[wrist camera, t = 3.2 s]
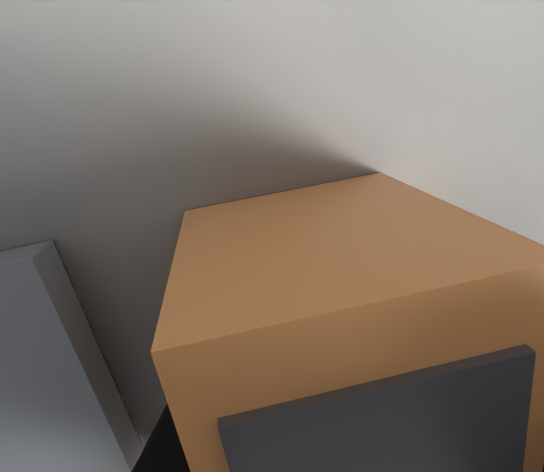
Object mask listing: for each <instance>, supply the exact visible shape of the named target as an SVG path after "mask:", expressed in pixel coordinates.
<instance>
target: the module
mask: <svg viewBox="0 0 544 472" xmlns="http://www.w3.org/2000/svg"><path fill="white" fill-rule="evenodd" d="M150 353H151V356H152V359H153V362H154V365H155V368H156V371H157V373H158V376H159V379H160V382H161V385H162V388H163V391H164V394H165V397H166V400H167V403H168V406H169V409H170V412H171V415H172V418H173V421H174V424H175V427H176V430H177V433H178V436H179V439H180V442H181V445H182V448H183V451H184V454H185V457H186V460H187V462H188V465H189V468H190V471H191V472H543V465H544V245H542V244H540V243H537V242H535V241H533V240H531V239H528V238H526V237H524V236H522V235H519V234H517V233H515V232H513V231H510V230H508V229H506V228H504V227H501V226H499V225H497V224H495V223H492V222H490V221H488V220H486V219H483V218H481V217H479V216H477V215H475V214H472V213H470V212H468V211H466V210H463V209H461V208H459V207H457V206H454V205H452V204H450V203H448V202H445V201H443V200H441V199H439V198H436V197H434V196H432V195H430V194H427V193H425V192H423V191H421V190H418V189H416V188H414V187H412V186H409V185H407V184H405V183H403V182H401V181H398V180H396V179H394V178H392V177H389V176H387V175H385V174H383V173H375V174H370V175H365V176H360V177H355V178H350V179H345V180H339V181H334V182H329V183H324V184H319V185H314V186H309V187H304V188H298V189H293V190H288V191H283V192H278V193H273V194H268V195H263V196H257V197H252V198H247V199H242V200H237V201H232V202H227V203H222V204H216V205H211V206H206V207H201V208H196V209H191V210H186V211H185V212H184V216H183V221H182V225H181V229H180V233H179V237H178V241H177V245H176V249H175V253H174V258H173V262H172V266H171V270H170V274H169V278H168V282H167V286H166V290H165V294H164V299H163V303H162V307H161V311H160V315H159V319H158V323H157V327H156V331H155V336H154V340H153V344H152V348H151V352H150Z"/></svg>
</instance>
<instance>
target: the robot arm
mask: <svg viewBox="0 0 544 472" xmlns="http://www.w3.org/2000/svg"><path fill="white" fill-rule="evenodd" d="M131 472H191V471H190V468H189V465H188V462H187V460H186V457H185V454H184V451H183V448H182V445H181V442H180V439H179V436H178V433H177V430H176V427H175V424H174V421H173V418H172V415H171V412H170V409H169V406H168V403H167V405H166V407H165V409H164V411H163V413H162V415H161V417H160V419H159V421H158V423H157V425H156V427H155V428H154V430H153V432H152V434H151V436H150V438H149V440H148V442H147V443H146V445H145V447H144V449H143V451H142V453H141V455H140V457H139V458H138V460H137V462H136V464H135V466H134V467H133V469H132V471H131ZM543 472H544V465H543Z"/></svg>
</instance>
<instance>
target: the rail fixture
mask: <svg viewBox="0 0 544 472" xmlns="http://www.w3.org/2000/svg"><path fill="white" fill-rule="evenodd" d="M142 451H143V447H142V445H141V442H140V440H139V438H138V435H137V433H136V431H135V429H134V426H133V424H132V422H131V419H130V417H129V415H128V412H127V410H126V408H125V406H124V403H123V401H122V399H121V396H120V394H119V392H118V389H117V387H116V385H115V383H114V380H113V378H112V376H111V373H110V371H109V369H108V367H107V364H106V362H105V360H104V357H103V355H102V353H101V350H100V348H99V346H98V344H97V341H96V339H95V337H94V334H93V332H92V330H91V327H90V325H89V323H88V321H87V318H86V316H85V314H84V311H83V309H82V307H81V304H80V302H79V300H78V298H77V295H76V293H75V291H74V288H73V286H72V284H71V282H70V279H69V277H68V275H67V272H66V270H65V268H64V265H63V263H62V261H61V259H60V256H59V254H58V252H57V249H56V247H55V245H54V242H53V240H49V241H44V242H40V243H35V244H31V245H26V246H22V247H18V248H13V249H9V250H4V251H0V472H131V471H132V469H133V467H134V466H135V464H136V462H137V460H138V458H139V457H140V455H141V453H142Z"/></svg>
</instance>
